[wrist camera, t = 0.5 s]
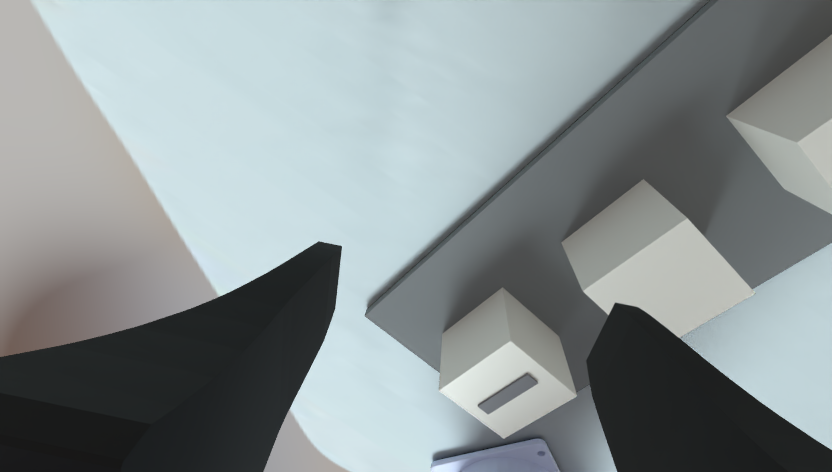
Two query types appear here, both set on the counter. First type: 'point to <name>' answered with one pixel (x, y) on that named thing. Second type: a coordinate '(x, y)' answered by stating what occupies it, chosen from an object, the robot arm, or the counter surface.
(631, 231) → the plain block
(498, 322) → the one bar block
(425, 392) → the counter surface
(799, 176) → the two bar block
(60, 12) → the counter surface
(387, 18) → the counter surface
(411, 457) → the counter surface
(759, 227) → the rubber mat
